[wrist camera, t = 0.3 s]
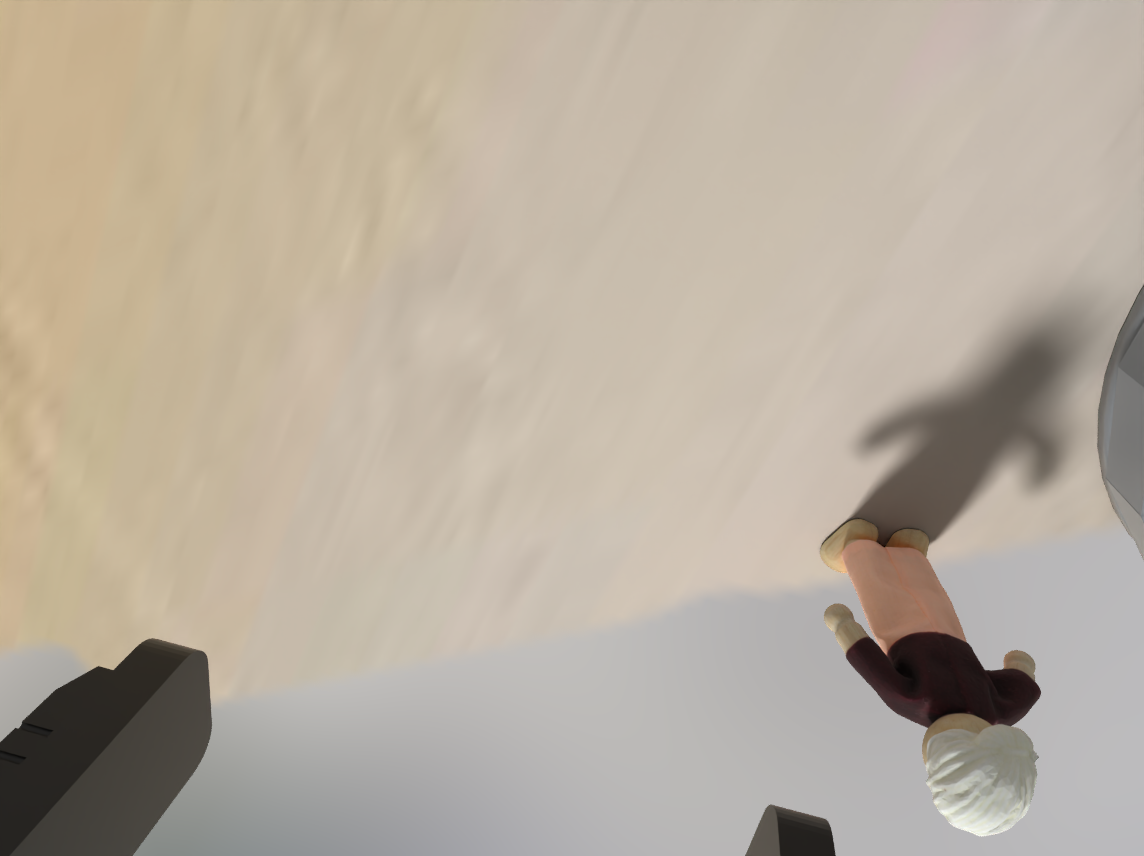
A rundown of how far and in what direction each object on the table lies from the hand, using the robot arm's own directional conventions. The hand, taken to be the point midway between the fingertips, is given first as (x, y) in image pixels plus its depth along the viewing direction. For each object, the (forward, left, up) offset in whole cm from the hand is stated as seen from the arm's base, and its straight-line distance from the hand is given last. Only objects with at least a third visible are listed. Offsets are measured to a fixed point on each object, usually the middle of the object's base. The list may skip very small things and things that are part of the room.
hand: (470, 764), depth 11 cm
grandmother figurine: (+3, +17, -21) cm, 27 cm away
